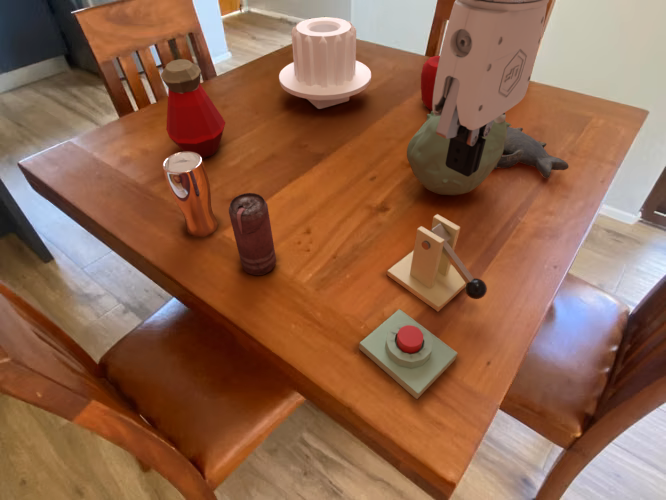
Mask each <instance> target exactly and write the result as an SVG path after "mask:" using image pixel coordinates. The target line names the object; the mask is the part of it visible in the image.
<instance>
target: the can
mask: <svg viewBox="0 0 666 500" xmlns="http://www.w3.org/2000/svg"><path fill="white" fill-rule="evenodd" d="M228 215H229V220H230V224H231V227H232V231H233V235H234V239H235V243H236V247H237V252H238V256H239V259H240V264H241V267H242V269H243V270H244V272H246V273H248V274H249V275H253V276H263V275H267V274H268V273H269V272H271V271H272V270H273V269H274V267H275V266H276V264H277V257H276V250H275V244H274V238H273V231H272V225H271V219H270V213H269V206H268V203H267V201H266V200H265V199H264V197H263V196H262V195H260V194H258V193H255V192H245V193H241V194H239V195H237V196H234V198H233V199H232V200H231V201H230V203H229V207H228Z"/></svg>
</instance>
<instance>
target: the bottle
mask: <svg viewBox="0 0 666 500" xmlns="http://www.w3.org/2000/svg"><path fill="white" fill-rule="evenodd" d="M201 75H202V70H201V68H200V66H199V65H196V64H195V63H194V62H192V61H190V60H188V59H175V60H171V61H169V62H168V63H167V64H165V67H164V69H163V70H162V72H161V73H160V77H161V80H162V82H163V83H164V84H165V86H166V87H167V88H168V89H167V109H166V111H167V112H166V129H165V130H166V132H167V134H168V138H169V139H170V140H171V141H172V142H173V143H175V145H176V146H177V147H178V148H179V149H180V150H181V151H182V152H194V153H197V154H199V155H200V156H201V158H202V160H203V159H205V158H209V157H212V156H214V155H215V154H216V153H217V152H218V150H219V148H220V145H221V140H222V137H223V133H224V130H225V127H226V121H225V119H224V117H223V115H222V114H221V112H220V111H219V110H218V108H217V107H216V105H215V104H214V102H213V101H212V99H211V97H210V96H209V95H208V93H207V91H206V90H205V89H204V87H203V86H202V84H201Z"/></svg>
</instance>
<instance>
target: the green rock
mask: <svg viewBox="0 0 666 500" xmlns="http://www.w3.org/2000/svg"><path fill="white" fill-rule="evenodd" d="M440 117H441V115H440V116H436V115H434V113H433V111H432V110H430V113H427V114H426V120H425V122H424V123H423V124H421V126H420V128H419V129H418V130H417V131H416V132H415V133H414V135H413V136H412V137H411V139H410V140H409V142H408V144H407V149H406V158H407V161H408V164H409V165H410V169H411V170H412V173H413V175H414V177H415V178H416V179H417V181H418V182H419V183H420V184H421V185H422V186H423V187H424V188H425V189H427V190H428V191H430V192H432V193H434V194H437V195H441V196H459V195H464V194H469V193H470V192H471V191H474V190H475V189H476V188H477V187H479V186H480V185H481V184H482V183H483V182H484V181H485V180H486V179H487V178H488V177H489V176H490V174H491V173H492V172H493V170H495V169H494V168H495V166H496V165H497V163H498V161H499V160H500V158H501V156H503V155H504V154H503V151H504V142H505V139H506V136H507V127H511V126H512V124H511V123H509V122H508V121H506V118H507V115H506V112H505V113H503V114H502V115H500V116H499V117H497V118H495V119H494V122H493V125H492V128H491V131H490V133H489V135H488V136H487V137H482V138H484V139H486V142H485V146H484V149H483V153H482V157H481V161H480V165H479V168H478V170H477V171H476V172H474V173H472V175H470V176H469V177H467V176H465V175H463V174H460V173H458V172H456V171H454V170H452V169H450V168H448V167H447V166H446V164H445V163H446V158H447V153H448V148H449V142H450V139H446V138H444V137H442V136H439V135H437V134H436V130H437V126H438V123H439V120H440Z"/></svg>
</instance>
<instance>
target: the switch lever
mask: <svg viewBox="0 0 666 500" xmlns="http://www.w3.org/2000/svg"><path fill="white" fill-rule="evenodd" d="M429 231H431V232H432V233H434V234H436V235H437V236H439V237H440V238H442V239H444V245H443V249H442V252H443V253H444V254H445V256H446V257H447V258H448V260H449V261H450V262H451V265H452V266H454V268H455V269H456V271H457V272H458V273H459V275H460V276H461V277H462V279H463V280H464V281H465V283H466V286H465V287H464V291H465V294H466V295H467V296H468V297H469V298H471V299H473V300H480V299H482V298H484V297H486V294H487V291H488V287H487V284H486V282H485V281H484V280H482V279H481V278H477V277H476V278H475V277H474V276H473V275H472V274H471V272H470V271H469V269H468V268H467V267H466V265H465V264H464V263H463V262H462V260H461V259H460V257H459V256H458V255H457V253H456V252H455V250H454V251H453V249H452V248H451V247H450V245H449V244H448V243H447V241H448V240H449V239H450V238H451V237H450V236H449V234H448V233H447V232H446V230H445V229H444V228H443V226H442V225H441V224H438V225H437V226H435V227H434V228H432V229H431V228H430V230H429Z"/></svg>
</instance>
